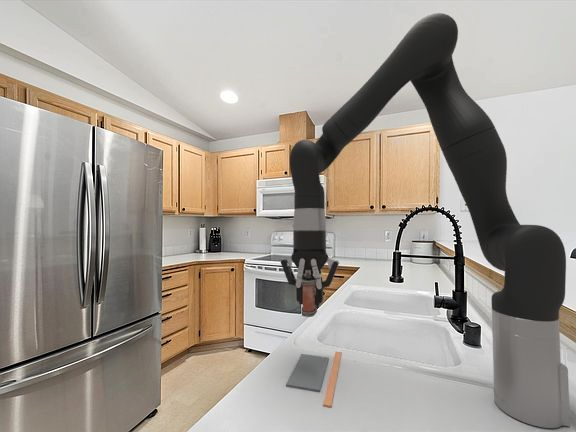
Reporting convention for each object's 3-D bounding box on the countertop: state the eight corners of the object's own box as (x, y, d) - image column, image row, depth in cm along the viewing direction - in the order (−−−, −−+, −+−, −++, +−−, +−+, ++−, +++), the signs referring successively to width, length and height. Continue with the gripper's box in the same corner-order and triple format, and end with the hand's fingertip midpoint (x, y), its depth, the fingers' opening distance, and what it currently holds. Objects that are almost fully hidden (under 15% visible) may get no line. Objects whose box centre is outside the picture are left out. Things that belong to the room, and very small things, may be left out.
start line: (341, 353, 70) (341, 352, 70) (331, 407, 49) (331, 405, 49) (335, 352, 71) (335, 351, 71) (323, 406, 50) (323, 404, 50)
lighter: (315, 317, 58) (315, 270, 58) (299, 316, 58) (299, 269, 59) (318, 306, 66) (318, 265, 66) (304, 305, 66) (304, 264, 67)
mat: (328, 359, 67) (328, 357, 67) (319, 392, 54) (319, 390, 54) (301, 355, 69) (301, 353, 69) (286, 386, 56) (286, 384, 56)
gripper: (341, 228, 64) (342, 302, 64) (285, 228, 68) (284, 297, 68) (338, 229, 57) (339, 311, 56) (275, 228, 61) (275, 306, 60)
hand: (309, 303), depth 62 cm, fingers closed on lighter, 3 cm apart
